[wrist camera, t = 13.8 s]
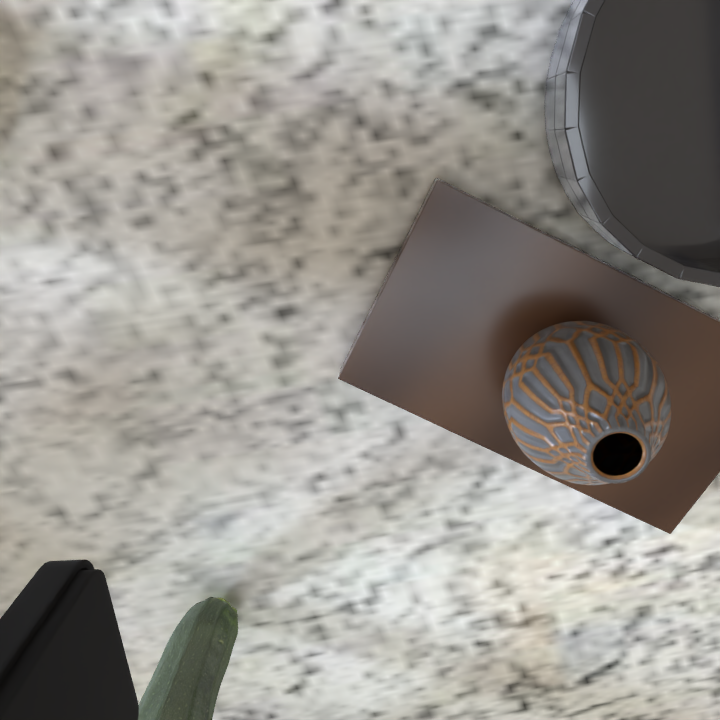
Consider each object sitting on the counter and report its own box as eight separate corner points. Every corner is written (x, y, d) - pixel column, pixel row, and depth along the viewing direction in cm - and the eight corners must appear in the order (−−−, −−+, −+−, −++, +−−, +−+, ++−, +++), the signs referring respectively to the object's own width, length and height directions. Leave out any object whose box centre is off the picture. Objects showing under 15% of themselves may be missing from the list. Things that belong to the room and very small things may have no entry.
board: (340, 368, 34) (337, 378, 32) (436, 177, 30) (437, 179, 29) (660, 518, 36) (670, 534, 34) (787, 354, 32) (804, 364, 30)
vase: (506, 297, 30) (543, 358, 22) (650, 313, 30) (741, 380, 22) (482, 425, 33) (508, 523, 25) (616, 441, 33) (687, 545, 24)
